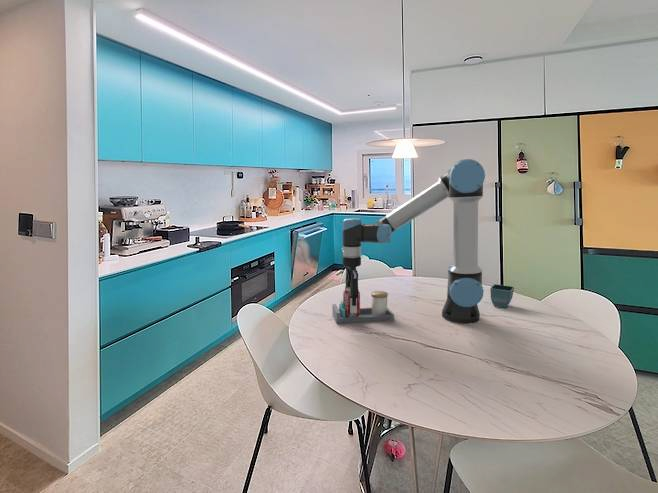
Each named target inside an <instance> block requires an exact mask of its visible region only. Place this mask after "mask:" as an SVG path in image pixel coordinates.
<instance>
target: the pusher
mask: <svg viewBox="0 0 658 493" xmlns="http://www.w3.org/2000/svg"><path fill="white" fill-rule="evenodd" d="M338 309H339V311H340V317H341V318H345V309H344V303H343V300H341V301H340V303H339V306H338Z"/></svg>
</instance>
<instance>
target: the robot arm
mask: <svg viewBox="0 0 658 493" xmlns="http://www.w3.org/2000/svg"><path fill="white" fill-rule="evenodd" d="M485 178H486V172H485V169H484V167H483V166H482V164H481V163H480V162H479V161H477V160H474V159H472V158H465V159H460V160H458V161H456V162H455V163H454V164H453V165H452V166H451V167H450V169H449V170H448V171H447V172H446V173H444V174H443V175H441V176H440V177H438V180H437V181H436V182H435V183H433V184H432V185H430V186H429V187H427V188H426V189H424V190H423V191H422V192H420V193H418V194H417V195H415V196H414V197H412V198H411V199H410V200H408V201H406V202H405V203H402V205H399V206H398V207H397V208H395V209H394V210H393V211H391V212H389V213H387V215H385V216H383V217H382V218H380V219H379V220H377V221H375V222H374V223H363V222H362V219H361V218H359V217H358V218H356V217H349V218H348V217H347V218H345V219H343V222H342V230H341V231H342V248H341V251H342V255H343V256H342V265H343V266H344V267H345V287H344V289H345V288H347V287H350V291H351V297H349V298H350V313H357V298H358V289H359V273H358V270H357V268H358V267H360V266H361V265H362V243H371V244H373V243H375V244H376V243H377V244H389V243H390V242H391V240H392V233H394V232H395V231H397V230H399V229H400V228H402V227H403V226H404V225H406V224H408V223H410V222H411V221H413V220H414V219H416V218H417V217H419V216H421V215H422V214H424V213H426V212H427V211H428V210H431V209H432V208H433V207H435V206H437V205H438V204H439V203H441V202H443V201H445V200H446V199H448V198H449V199H450V200H451V201H452V202H453V205H452V206H453V212H452V213H453V217H452V218H453V219H452V220H453V223H452V224H453V225H452V226H453V231H452V232H453V233H452V234H453V248H452V249H453V261H452V262H453V263H451V264H449V265H448V269H447V273H448V275H447V292H446V300H445V302H444V305H443V308H442V310H441V317H442V318H443V319H445V320H447V321H449V322H451V323H456V324H463V325H464V324H466V325H467V324H469V323H470V324H476V323H478V322H479V321H480V319H481V315H480V314H481V313H480V310H479V307H478V304H479V303H480V302H481V301H482V300H483V297H484V287H483V269H482V268H481V267H480V266H479V265H478V263H479V262H478V261H479V259H478V258H479V202H480V200H481V199H482V198H483V197H484V183H485V180H486V179H485ZM475 322H476V323H475Z"/></svg>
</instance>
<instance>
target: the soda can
mask: <svg viewBox="0 0 658 493" xmlns="http://www.w3.org/2000/svg"><path fill="white" fill-rule="evenodd" d="M349 297H351V291H350V287H347V288H345V287H344V290H343V294H342V301H343V303H344V309H345V316H346V317H358V316H359V315H360V308H361V293H360V291H359V288H358V298H357V313H350V298H349Z"/></svg>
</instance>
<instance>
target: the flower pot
mask: <svg viewBox="0 0 658 493" xmlns="http://www.w3.org/2000/svg"><path fill="white" fill-rule="evenodd" d="M489 291H490V292H489V293H490V300H491V304H493V307H496V306H499V307H498V308H502V307H504V309H507V307H508V306H509V305H510V303H511V301H512V299H513V297H514V291H515V286H512V285H511V286H510V285H504V284H495V283H494V284H493V285H492V286H491V287H490V290H489Z"/></svg>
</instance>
